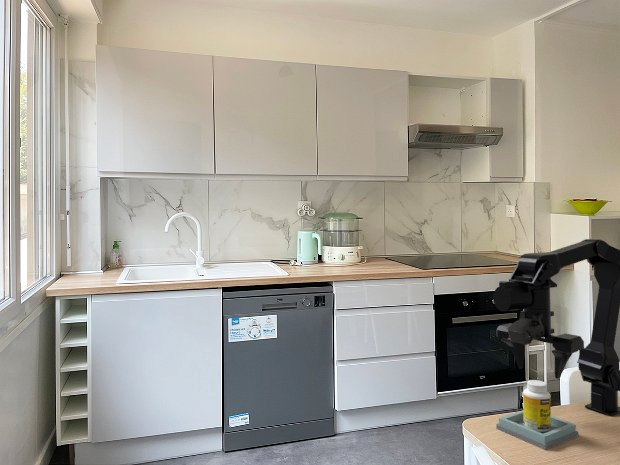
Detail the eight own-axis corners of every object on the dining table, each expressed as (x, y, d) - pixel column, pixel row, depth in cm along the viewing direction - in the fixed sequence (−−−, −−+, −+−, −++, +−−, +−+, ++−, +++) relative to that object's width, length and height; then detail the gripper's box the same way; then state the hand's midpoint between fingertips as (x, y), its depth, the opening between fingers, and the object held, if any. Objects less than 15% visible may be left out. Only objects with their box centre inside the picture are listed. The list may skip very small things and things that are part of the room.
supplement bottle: (541, 435, 102) (541, 388, 101) (518, 426, 106) (518, 381, 106) (555, 429, 105) (555, 383, 104) (532, 420, 109) (532, 376, 109)
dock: (529, 417, 114) (529, 407, 114) (578, 436, 103) (578, 424, 103) (496, 428, 108) (496, 417, 108) (545, 449, 97) (545, 437, 97)
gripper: (481, 306, 114) (483, 369, 114) (555, 318, 98) (557, 392, 98) (509, 300, 120) (511, 361, 120) (584, 311, 104) (586, 381, 104)
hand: (538, 373), depth 111 cm, fingers open, 9 cm apart
